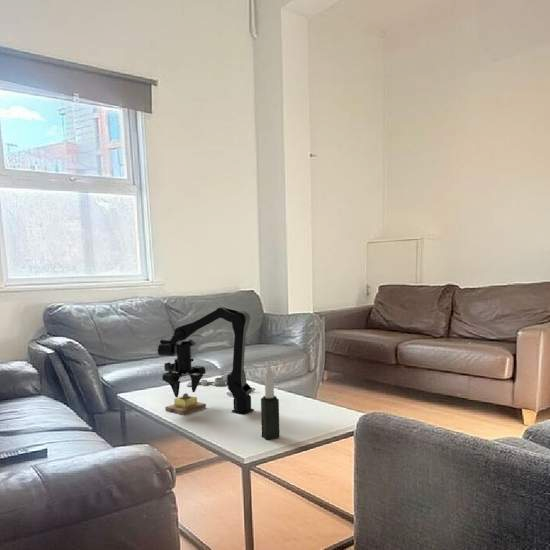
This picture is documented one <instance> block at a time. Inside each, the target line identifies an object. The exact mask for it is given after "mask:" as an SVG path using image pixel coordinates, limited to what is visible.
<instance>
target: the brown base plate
mask: <svg viewBox="0 0 550 550" xmlns="http://www.w3.org/2000/svg"><path fill="white" fill-rule="evenodd" d="M182 396H183V400H187V399H188V396H189V394H188V393H187V392H186V393H184V394H182ZM205 407H206V408H207V404H206V403H204V402H198V401H197V405H195V406H192V407H189V408H181V407H176V406H175V405H174V404H169V405H167V406H165V407H164V408H165V410H166V411H167V412H169V411H170V413H173V412H174V413H175V414H178V413H179V414H178V415H182V414H183V415H182V416H186V415H188V413H189V414H191V413H195V412H197V411H199V409H200V410H203V409H206V408H205ZM202 408H203V409H202ZM174 413H173V414H174ZM185 414H186V415H185Z"/></svg>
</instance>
